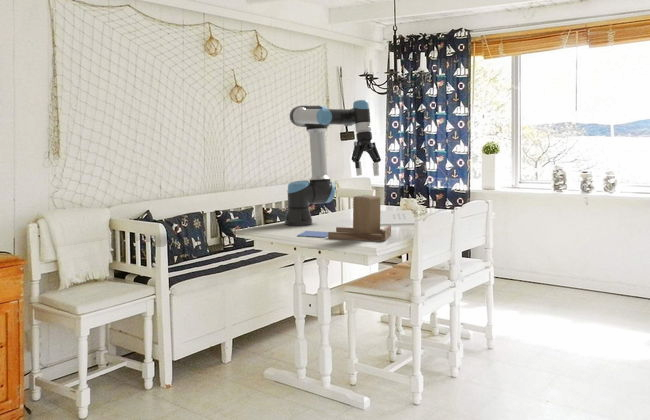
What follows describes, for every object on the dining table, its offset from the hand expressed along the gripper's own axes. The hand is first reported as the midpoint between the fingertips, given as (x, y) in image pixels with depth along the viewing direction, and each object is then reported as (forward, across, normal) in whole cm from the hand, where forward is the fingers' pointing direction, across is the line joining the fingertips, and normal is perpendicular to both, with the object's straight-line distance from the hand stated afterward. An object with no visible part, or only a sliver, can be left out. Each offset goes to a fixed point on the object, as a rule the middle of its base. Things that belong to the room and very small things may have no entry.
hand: (368, 175), depth 309 cm
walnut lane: (+29, -4, +7) cm, 30 cm away
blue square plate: (+26, -13, +26) cm, 39 cm away
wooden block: (+30, -2, +3) cm, 30 cm away
